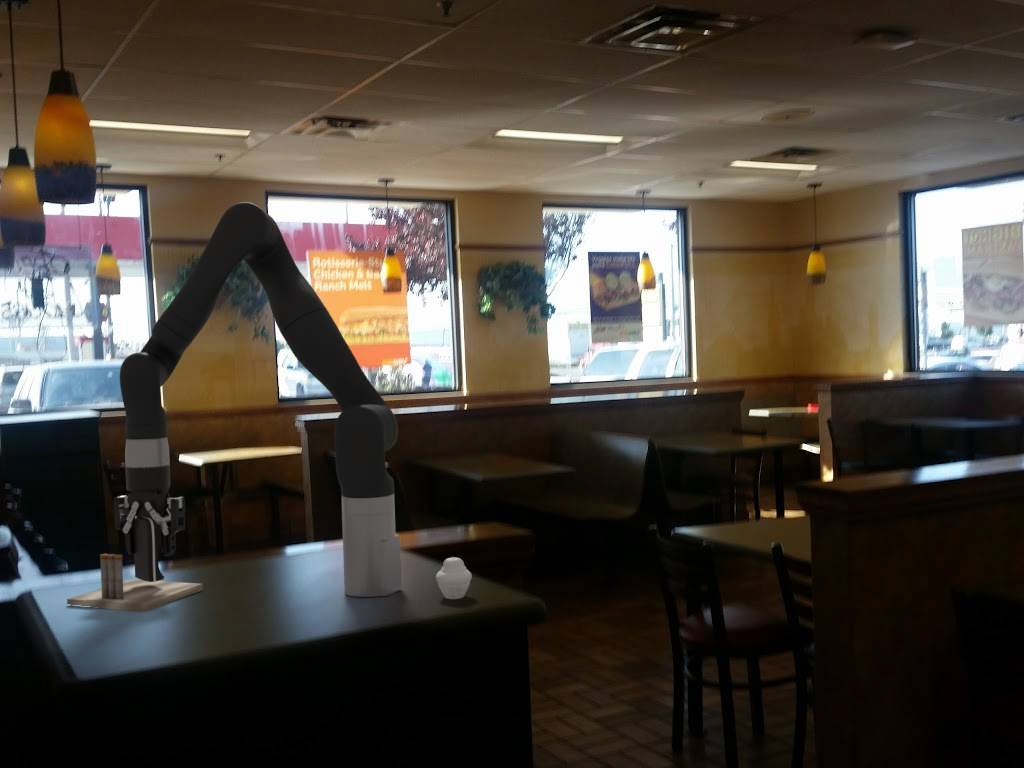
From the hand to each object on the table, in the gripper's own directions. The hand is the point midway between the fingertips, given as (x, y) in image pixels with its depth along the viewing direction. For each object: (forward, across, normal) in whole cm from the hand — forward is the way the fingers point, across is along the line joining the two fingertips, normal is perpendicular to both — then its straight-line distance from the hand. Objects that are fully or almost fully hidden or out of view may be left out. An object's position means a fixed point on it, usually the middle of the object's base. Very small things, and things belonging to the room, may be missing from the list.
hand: (150, 554), depth 187 cm
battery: (+5, 0, 0) cm, 5 cm away
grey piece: (+7, -55, -10) cm, 56 cm away
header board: (+7, 0, +4) cm, 8 cm away
